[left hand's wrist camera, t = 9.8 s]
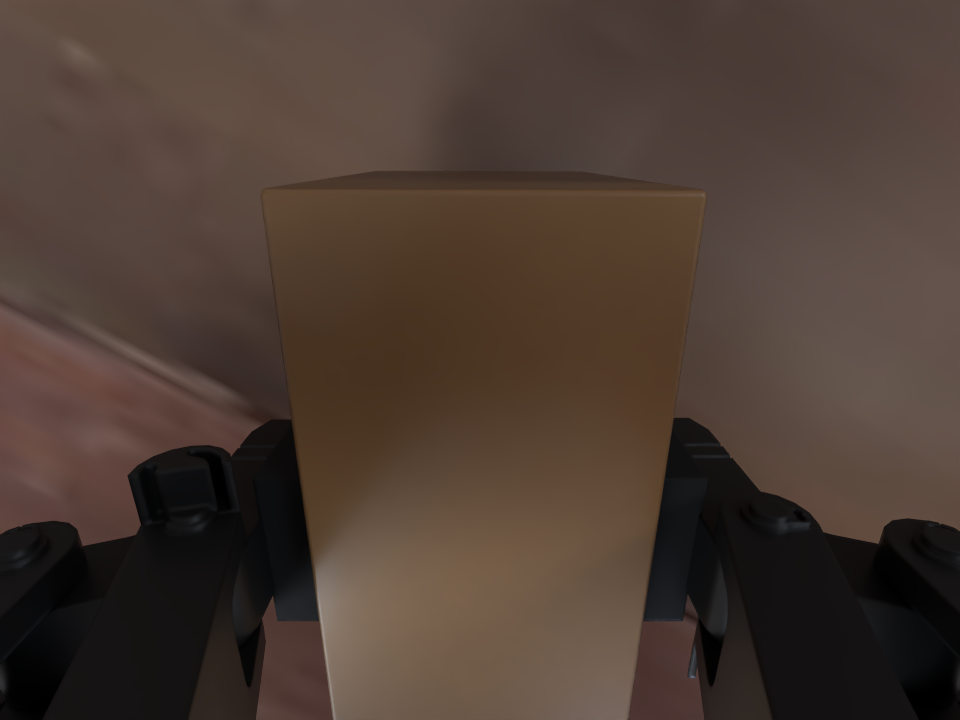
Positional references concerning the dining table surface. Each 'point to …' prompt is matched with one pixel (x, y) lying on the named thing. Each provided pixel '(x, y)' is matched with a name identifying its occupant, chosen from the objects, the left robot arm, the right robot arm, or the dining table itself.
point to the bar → (482, 429)
